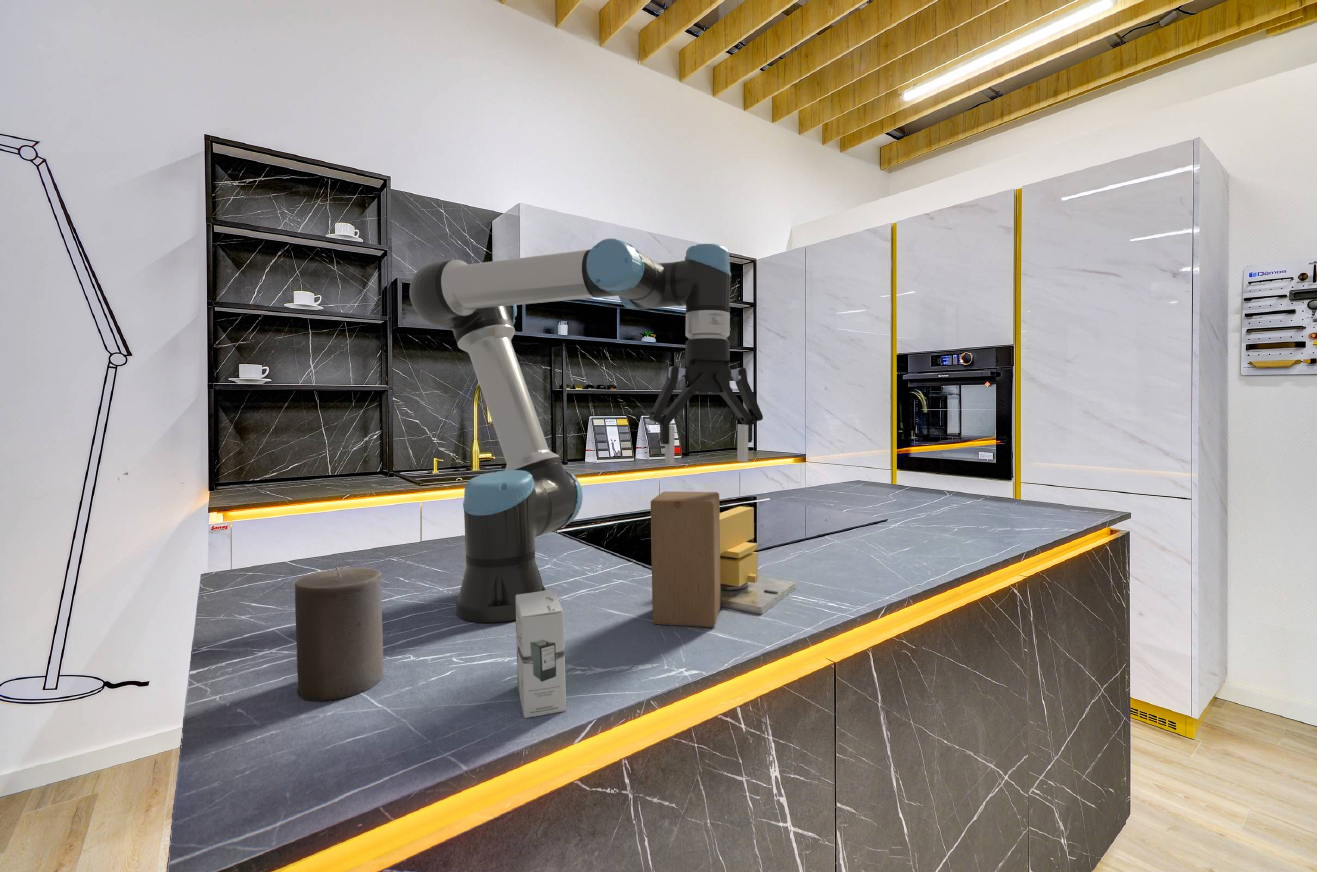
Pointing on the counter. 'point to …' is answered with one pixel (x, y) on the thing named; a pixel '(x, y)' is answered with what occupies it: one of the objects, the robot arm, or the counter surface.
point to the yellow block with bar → (738, 547)
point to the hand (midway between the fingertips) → (706, 462)
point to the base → (755, 594)
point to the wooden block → (685, 558)
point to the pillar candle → (338, 633)
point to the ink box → (540, 653)
